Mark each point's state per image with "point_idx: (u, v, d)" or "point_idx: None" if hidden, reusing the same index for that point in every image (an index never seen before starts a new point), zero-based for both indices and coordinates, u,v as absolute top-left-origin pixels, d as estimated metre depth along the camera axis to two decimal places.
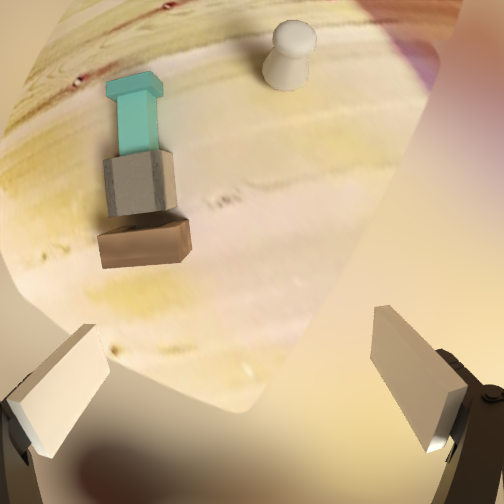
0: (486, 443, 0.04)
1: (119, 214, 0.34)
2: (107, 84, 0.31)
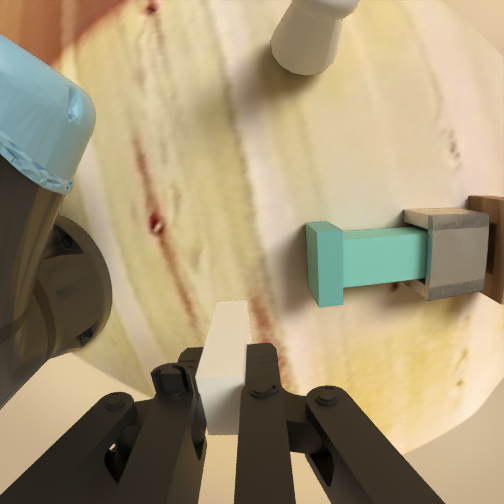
0: (264, 437, 0.06)
1: (483, 275, 0.23)
2: (323, 304, 0.24)
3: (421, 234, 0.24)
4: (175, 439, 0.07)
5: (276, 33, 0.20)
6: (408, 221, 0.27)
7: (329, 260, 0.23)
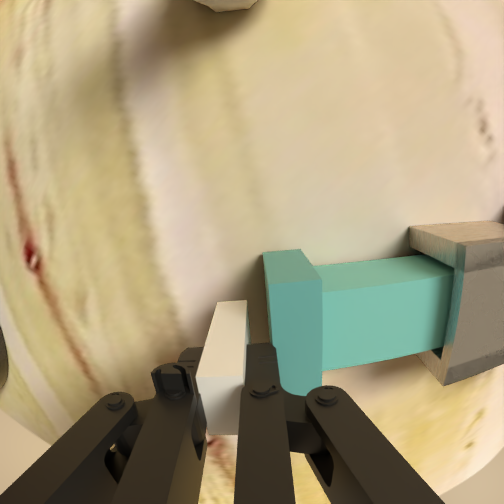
0: (264, 437, 0.06)
1: None
2: None
3: None
4: (175, 439, 0.07)
5: None
6: (417, 247, 0.16)
7: (295, 336, 0.12)
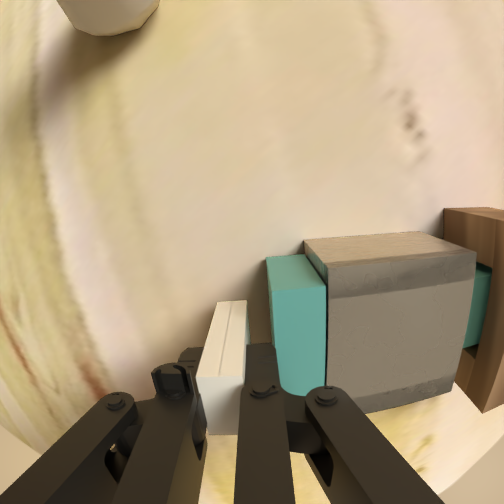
0: (263, 437, 0.06)
1: (454, 369, 0.12)
2: None
3: None
4: (175, 439, 0.07)
5: None
6: None
7: (298, 342, 0.12)
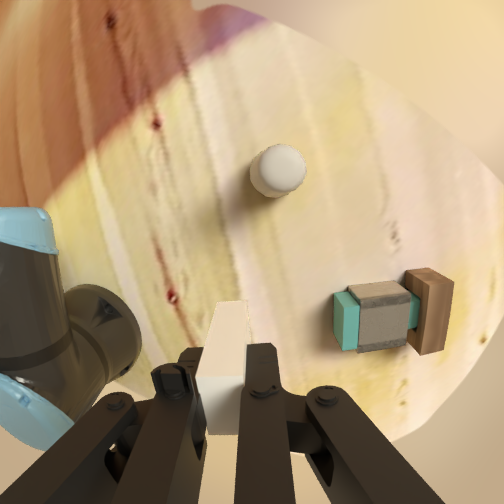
0: (264, 437, 0.06)
1: (405, 335, 0.36)
2: (345, 349, 0.37)
3: None
4: (175, 439, 0.07)
5: (252, 170, 0.33)
6: None
7: (350, 323, 0.36)
